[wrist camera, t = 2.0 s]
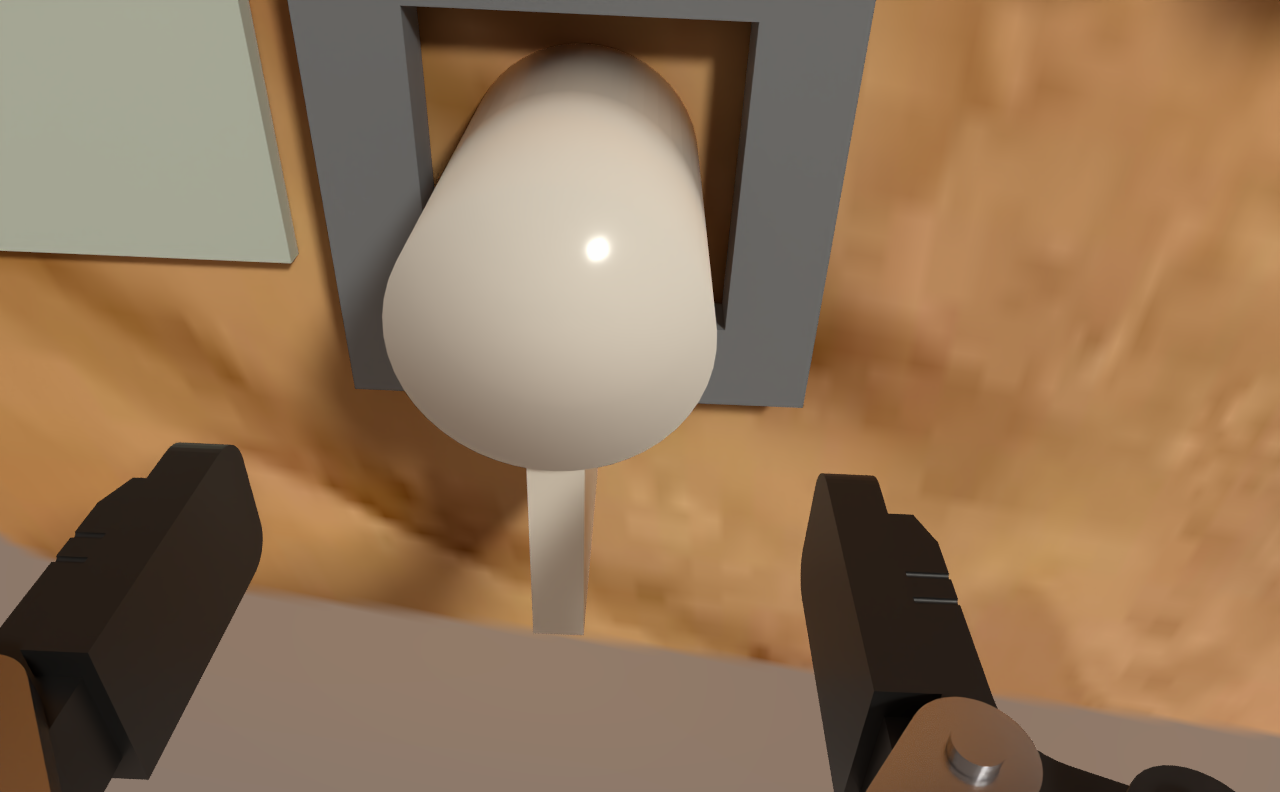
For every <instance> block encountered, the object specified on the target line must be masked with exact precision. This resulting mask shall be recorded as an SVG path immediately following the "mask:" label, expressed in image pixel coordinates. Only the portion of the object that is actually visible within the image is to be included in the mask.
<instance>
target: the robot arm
mask: <svg viewBox="0 0 1280 792" xmlns="http://www.w3.org/2000/svg"><path fill="white" fill-rule="evenodd" d="M262 542H263V536H262V527H261V522H260V519H259V515H258V512H257V508H256V504H255V501H254V497H253V493H252V490H251V486H250V483H249V479H248V475H247V472H246V468H245V464H244V461H243V457H242V455H241V453H240V451H239V449H238V448H237V447H236V446H234V445H224V444H202V443H175V444H173V445H172V446H171V447H170V448H169V449H168V450H167V451H166V453H165V454H164V455H163V457H162V458H161V459H160V461H159V462H158V463H157V465H156V466H155V467H154V469H153V470H152V472H151V473H150V474H149V476H148V477H147V478H132V479H131V480H129V481H128V482H126V483H125V484H124V485H122V486H121V487H119V488H118V489H116V490H115V491H114V492H112V493H111V494H109V495H108V496H107V497H105V498H104V499H102V500H101V501H99V502H98V503H97V504H96V506H95V507H94V508H93V510H92V511H91V512H90V513H89V515H88V516H87V517H86V518H85V520H84V521H83V522H82V524H81V525H80V526H79V527H78V529H77V530H76V531H75V537H74V538H70V539H69V540H68V542H67V543H66V544H65V545H64V547H63V548H62V549H61V550H60V552H59V553H58V554H57V556H56V557H57V559H56V562H51V563H50V565H49V566H48V567H47V568H46V570H45V571H44V572H43V574H42V575H41V576H40V578H39V579H38V580H37V581H36V583H35V584H34V585H33V586H32V588H31V589H30V590H29V591H28V593H27V594H26V595H25V597H24V598H23V599H22V600H21V602H20V603H19V604H18V606H17V607H16V608H15V609H14V611H13V612H12V613H11V614H10V616H9V617H8V618H7V620H6V621H5V622H4V623H3V625H2V626H1V627H0V792H104V791H105V789H106V787H107V785H108V783H109V782H110V780H111V778H124V779H146V780H148V779H149V778H150V776H151V774H152V772H153V770H154V768H155V766H156V764H157V762H158V760H159V758H160V757H161V755H162V753H163V751H164V749H165V747H166V745H167V743H168V741H169V739H170V737H171V735H172V733H173V731H174V729H175V727H176V725H177V723H178V722H179V720H180V718H181V716H182V714H183V712H184V710H185V708H186V706H187V704H188V702H189V700H190V698H191V696H192V694H193V693H194V690H195V688H196V686H197V685H198V683H199V681H200V679H201V677H202V675H203V673H204V671H205V669H206V667H207V665H208V663H209V662H210V659H211V658H212V656H213V654H214V652H215V650H216V648H217V646H218V644H219V642H220V640H221V638H222V636H223V634H224V632H225V630H226V628H227V627H228V624H229V623H230V621H231V619H232V617H233V615H234V613H235V611H236V609H237V607H238V605H239V603H240V601H241V599H242V597H243V596H244V594H245V592H246V590H247V588H248V586H249V584H250V582H251V580H252V578H253V576H254V574H255V572H256V570H257V567H258V565H259V561H260V557H261V552H262ZM948 575H949V573H948V570H947V567H946V564H945V561H944V558H943V556H942V553H941V550H940V547H939V544H938V542H937V541H936V540H935V539H934V538H933V537H932V535H931V534H930V533H929V532H928V531H927V530H926V529H925V528H924V527H923V525H922V524H921V523H920V522H919V521H918V520H917V519H916V518H915V516H914V515H906V514H888V512H887V509H886V506H885V502H884V499H883V496H882V492H881V489H880V486H879V483H878V480H877V479H876V477H875V476H868V475H846V474H824V473H821V474H820V475H819V477H818V479H817V482H816V486H815V491H814V496H813V501H812V506H811V511H810V517H809V522H808V527H807V532H806V537H805V542H804V547H803V552H802V560H801V594H802V601H803V607H804V613H805V619H806V625H807V631H808V637H809V643H810V649H811V656H812V662H813V668H814V674H815V680H816V686H817V692H818V698H819V703H820V710H821V716H822V721H823V728H824V734H825V740H826V746H827V752H828V758H829V764H830V770H831V776H832V782H833V788H834V792H1235V791H1233V790H1232V789H1230V788H1229V787H1228V786H1226V785H1225V784H1223V783H1221V782H1220V781H1218V780H1216V779H1214V778H1212V777H1210V776H1208V775H1206V774H1203V773H1201V772H1199V771H1195V770H1192V769H1189V768H1185V767H1179V766H1169V765H1168V766H1166V765H1162V766H1156V767H1152V768H1149V769H1146V770H1144V771H1143V772H1141V773H1140V774H1138V775H1137V776H1136V777H1135V778H1134V780H1133V781H1132V782H1131V784H1130V786H1128V785H1125V784H1122V783H1119V782H1116V781H1113V780H1110V779H1107V778H1104V777H1101V776H1098V775H1095V774H1092V773H1089V772H1086V771H1083V770H1080V769H1077V768H1074V767H1071V766H1068V765H1066V764H1063V763H1061V762H1058V761H1056V760H1054V759H1052V758H1050V757H1048V756H1046V755H1044V754H1043V753H1041V752H1040V751H1038V750H1037V749H1036V747H1035V745H1034V743H1033V741H1032V740H1031V739H1030V737H1029V736H1028V735H1027V733H1026V732H1025V731H1024V730H1023V729H1022V728H1021V726H1019V724H1018V723H1016V722H1015V721H1014V720H1012V718H1010V717H1009V716H1008V715H1006V714H1005V713H1003V712H1002V711H1000V710H998V708H997V706H996V704H995V701H994V699H993V697H992V694H991V691H990V688H989V685H988V683H987V680H986V677H985V674H984V671H983V668H982V666H981V663H980V660H979V657H978V654H977V651H976V649H975V646H974V643H973V640H972V637H971V635H970V632H969V629H968V626H967V623H966V620H965V618H964V615H963V612H962V609H961V606H960V605H958V603H957V600H958V598H957V595H956V592H955V589H954V587H953V584H952V581H951V580H950V579H949V577H948Z"/></svg>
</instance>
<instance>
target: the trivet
mask: <svg viewBox="0 0 1280 792" xmlns="http://www.w3.org/2000/svg"><path fill="white" fill-rule="evenodd" d="M0 251H22V252H44V253H67V254H90V255H113V256H136V257H158V258H181V259H204V260H227V261H250V262H272V263H292V262H293V261H294V259H295V258H296V256H297V255H298V254H299V253H298V248H297V243H296V238H295V233H294V228H293V223H292V218H291V213H290V208H289V203H288V198H287V192H286V187H285V182H284V177H283V172H282V167H281V162H280V157H279V152H278V147H277V142H276V137H275V132H274V127H273V122H272V117H271V112H270V106H269V101H268V96H267V91H266V86H265V81H264V76H263V71H262V66H261V61H260V56H259V51H258V46H257V41H256V36H255V31H254V25H253V20H252V15H251V10H250V5H249V0H0Z"/></svg>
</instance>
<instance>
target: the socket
mask: <svg viewBox="0 0 1280 792" xmlns="http://www.w3.org/2000/svg"><path fill="white" fill-rule="evenodd" d="M875 2H876V0H288V6H289V12H290V18H291V23H292V29H293V35H294V41H295V46H296V52H297V58H298V64H299V69H300V75H301V81H302V86H303V92H304V98H305V104H306V109H307V115H308V121H309V127H310V132H311V138H312V144H313V150H314V155H315V161H316V167H317V173H318V178H319V184H320V190H321V196H322V201H323V207H324V213H325V219H326V224H327V230H328V236H329V241H330V247H331V253H332V259H333V264H334V270H335V276H336V282H337V287H338V293H339V299H340V305H341V310H342V316H343V322H344V328H345V333H346V339H347V345H348V351H349V356H350V362H351V368H352V373H353V379H354V385H355V389H373V390H397V391H404V389H403V387H402V386H401V384H400V382H399V380H398V378H397V376H396V374H395V373H394V370H393V368H392V365H391V362H390V360H389V357H388V354H387V350H386V345H385V341H384V336H383V323H382V312H383V301H384V295H385V291H386V287H387V283H388V279H389V277H390V275H391V272H392V270H393V267H394V265H395V263H396V261H397V259H398V257H399V255H400V253H401V251H402V249H403V247H404V246H405V244H406V242H407V240H408V238H409V236H410V234H411V232H412V231H413V229H414V227H415V225H416V223H417V221H418V219H419V217H420V215H421V214H422V212H423V210H424V208H425V206H426V204H427V202H428V200H429V198H430V197H431V195H432V193H433V191H434V180H433V170H432V159H431V149H430V139H429V128H428V118H427V108H426V97H425V87H424V77H423V67H422V56H421V46H420V36H419V25H418V15H417V6H422V7H444V8H465V9H486V10H508V11H529V12H551V13H572V14H593V15H615V16H636V17H658V18H679V19H700V20H722V21H743V22H752V25H751V35H750V44H749V53H748V63H747V72H746V82H745V91H744V100H743V110H742V119H741V129H740V138H739V147H738V157H737V166H736V176H735V185H734V194H733V204H732V213H731V223H730V232H729V241H728V251H727V260H726V270H725V279H724V289H723V298H722V303H714V307H715V317H716V326H717V350H716V356H715V361H714V367H713V370H712V373H711V376H710V379H709V382H708V385H707V387H706V389H705V391H704V393H703V395H702V396H701V398H700V400H699V402H698V403H703V404H726V405H750V406H773V407H797V408H803V403H804V397H805V392H806V386H807V381H808V375H809V369H810V364H811V358H812V353H813V347H814V342H815V336H816V330H817V325H818V319H819V314H820V308H821V303H822V297H823V291H824V286H825V280H826V275H827V269H828V264H829V258H830V252H831V247H832V241H833V236H834V230H835V225H836V219H837V213H838V208H839V202H840V197H841V191H842V186H843V180H844V174H845V169H846V163H847V158H848V152H849V147H850V141H851V135H852V130H853V124H854V119H855V113H856V107H857V102H858V96H859V91H860V85H861V80H862V74H863V68H864V63H865V57H866V52H867V46H868V41H869V35H870V29H871V24H872V18H873V13H874V7H875Z"/></svg>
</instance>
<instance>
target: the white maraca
mask: <svg viewBox="0 0 1280 792" xmlns="http://www.w3.org/2000/svg"><path fill="white" fill-rule="evenodd" d="M382 323H383V336H384V341H385V345H386V350H387V354H388V357H389V360H390V362H391V365H392V368H393V370H394V373H395V374H396V376H397V378H398V380H399V382H400V384H401V386H402V387H403V389H404V391H405V392H406V393H407V395H408V396H409V398H410V399H411V400H412V402H413V403H414V404H415V406H416V407H417V408H418V409H419V410H420V411H421V412H422V413H423V414H424V415H425V416H426V418H427V419H428V420H430V421H431V422H432V423H433V424H434V425H435V426H437V427H438V428H439V429H440V430H441V431H442V432H444V433H445V434H447V435H448V436H450V437H451V438H453V439H454V440H456V441H457V442H458V443H460V444H462V445H464V446H466V447H468V448H469V449H471V450H473V451H475V452H477V453H479V454H482V455H484V456H487V457H489V458H492V459H494V460H497V461H500V462H504V463H507V464H510V465H514V466H519V467H524V468H526V470H527V493H528V517H529V540H530V564H531V587H532V611H533V633H541V634H566V635H584V624H585V612H586V601H587V589H588V577H589V566H590V554H591V542H592V531H593V519H594V507H595V496H596V484H597V468H598V467H602V466H607V465H611V464H614V463H617V462H620V461H623V460H626V459H629V458H631V457H633V456H635V455H637V454H640V453H642V452H644V451H646V450H648V449H649V448H651V447H652V446H654V445H656V444H657V443H659V442H660V441H662V440H663V439H664V438H666V437H667V436H668V435H669V434H671V433H672V432H673V431H674V430H676V429H677V427H678V426H679V425H680V424H681V423H682V422H683V421H684V420H685V419H686V418H687V417H688V416H689V414H690V413H691V412H692V410H693V409H694V408H695V406H696V405H697V403H698V402H699V400H700V398H701V396H702V395H703V393H704V391H705V389H706V387H707V385H708V382H709V379H710V376H711V373H712V370H713V367H714V361H715V356H716V350H717V326H716V317H715V307H714V298H713V288H712V279H711V270H710V260H709V251H708V241H707V232H706V222H705V213H704V203H703V194H702V184H701V175H700V165H699V156H698V147H697V139H696V135H695V131H694V127H693V124H692V121H691V119H690V117H689V114H688V112H687V109H686V108H685V106H684V104H683V103H682V101H681V99H680V97H679V96H678V95H677V93H676V92H675V91H674V89H673V88H672V87H671V85H670V84H669V83H668V82H667V81H666V80H665V79H664V78H663V77H662V76H661V75H660V74H659V73H658V72H656V71H655V70H654V69H652V68H651V67H650V66H648V65H647V64H646V63H644V62H642V61H641V60H639V59H637V58H635V57H634V56H632V55H629V54H627V53H624V52H622V51H619V50H617V49H614V48H610V47H606V46H602V45H594V44H586V43H579V44H564V45H557V46H552V47H549V48H545V49H542V50H539V51H536V52H534V53H532V54H530V55H528V56H526V57H524V58H522V59H521V60H519V61H518V62H516V63H515V64H513V65H512V66H510V67H509V68H508V69H507V70H506V71H505V72H503V73H502V74H501V75H500V76H499V77H498V78H497V79H496V81H495V82H494V83H493V84H492V85H491V87H490V88H489V89H488V91H487V92H486V94H485V96H484V97H483V99H482V101H481V102H480V104H479V106H478V108H477V110H476V112H475V114H474V116H473V117H472V119H471V121H470V123H469V125H468V127H467V129H466V131H465V133H464V134H463V136H462V138H461V140H460V142H459V144H458V146H457V148H456V150H455V151H454V153H453V155H452V157H451V159H450V161H449V163H448V165H447V166H446V168H445V170H444V172H443V174H442V176H441V178H440V180H439V182H438V183H437V185H436V187H435V189H434V191H433V193H432V195H431V197H430V198H429V200H428V202H427V204H426V206H425V208H424V210H423V212H422V214H421V215H420V217H419V219H418V221H417V223H416V225H415V227H414V229H413V231H412V232H411V234H410V236H409V238H408V240H407V242H406V244H405V246H404V247H403V249H402V251H401V253H400V255H399V257H398V259H397V261H396V263H395V265H394V267H393V270H392V272H391V275H390V277H389V279H388V283H387V287H386V291H385V295H384V301H383V312H382Z"/></svg>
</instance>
